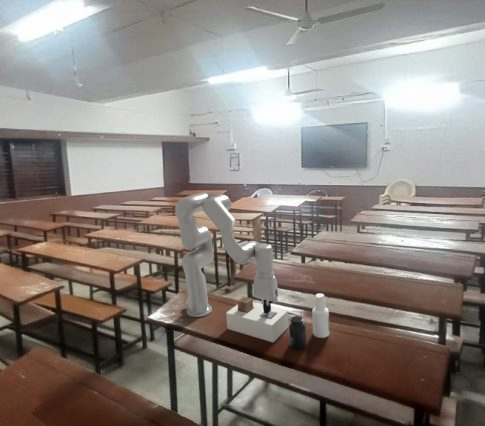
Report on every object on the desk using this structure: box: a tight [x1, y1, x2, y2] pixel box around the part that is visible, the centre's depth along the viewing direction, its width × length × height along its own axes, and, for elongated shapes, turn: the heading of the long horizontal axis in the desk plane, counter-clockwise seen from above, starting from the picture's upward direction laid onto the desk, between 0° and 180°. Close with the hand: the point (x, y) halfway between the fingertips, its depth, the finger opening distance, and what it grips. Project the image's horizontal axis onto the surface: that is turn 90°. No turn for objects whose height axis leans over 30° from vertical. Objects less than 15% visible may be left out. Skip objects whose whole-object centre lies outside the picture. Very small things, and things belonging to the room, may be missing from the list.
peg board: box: [225, 301, 290, 343], centre depth 166 cm, size 24×14×8 cm, turn 55°
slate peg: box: [260, 311, 276, 319], centre depth 163 cm, size 5×5×6 cm
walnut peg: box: [236, 296, 254, 313], centre depth 169 cm, size 5×5×6 cm
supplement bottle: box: [288, 315, 307, 351], centre depth 150 cm, size 7×7×12 cm
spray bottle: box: [311, 293, 330, 339], centre depth 156 cm, size 7×7×18 cm
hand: (267, 311), depth 162 cm, fingers closed
